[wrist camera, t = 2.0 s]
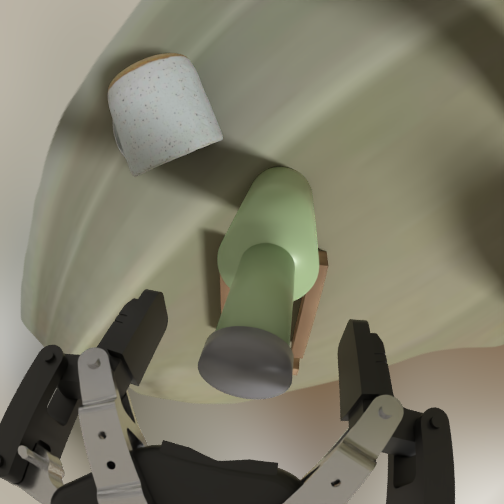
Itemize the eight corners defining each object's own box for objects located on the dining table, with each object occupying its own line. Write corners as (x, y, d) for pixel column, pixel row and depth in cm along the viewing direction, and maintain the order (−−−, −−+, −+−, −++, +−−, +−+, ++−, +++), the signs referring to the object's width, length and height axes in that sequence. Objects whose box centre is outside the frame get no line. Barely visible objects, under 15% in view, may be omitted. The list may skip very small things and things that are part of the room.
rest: (326, 251, 26) (328, 266, 24) (297, 360, 36) (296, 375, 34) (226, 239, 27) (219, 252, 25) (227, 350, 37) (223, 364, 35)
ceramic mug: (200, 53, 18) (157, 39, 12) (235, 134, 22) (204, 151, 15) (110, 106, 22) (56, 119, 15) (140, 175, 25) (93, 205, 19)
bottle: (316, 171, 22) (343, 337, 7) (307, 228, 25) (305, 416, 10) (251, 163, 23) (155, 309, 8) (248, 221, 26) (181, 395, 11)
